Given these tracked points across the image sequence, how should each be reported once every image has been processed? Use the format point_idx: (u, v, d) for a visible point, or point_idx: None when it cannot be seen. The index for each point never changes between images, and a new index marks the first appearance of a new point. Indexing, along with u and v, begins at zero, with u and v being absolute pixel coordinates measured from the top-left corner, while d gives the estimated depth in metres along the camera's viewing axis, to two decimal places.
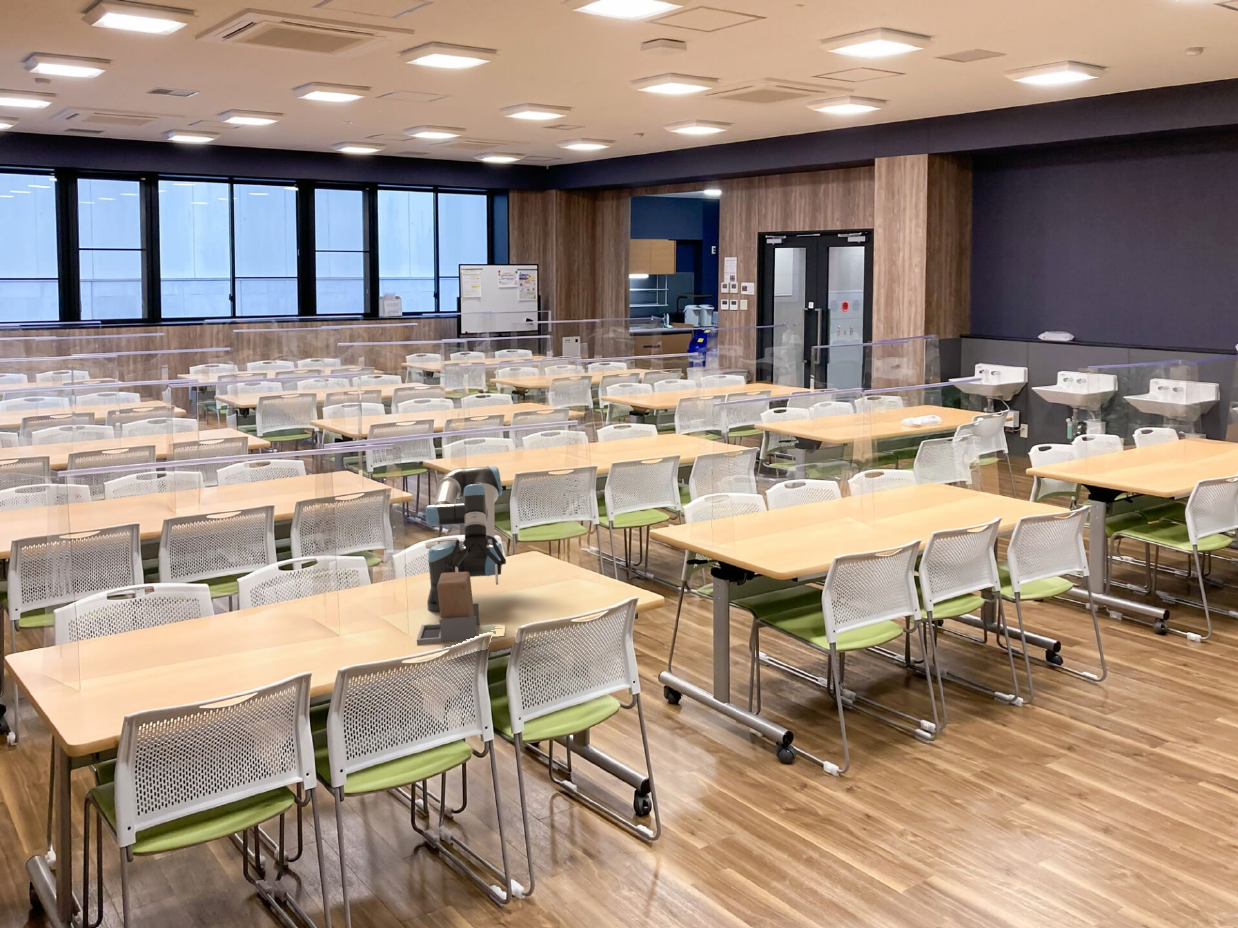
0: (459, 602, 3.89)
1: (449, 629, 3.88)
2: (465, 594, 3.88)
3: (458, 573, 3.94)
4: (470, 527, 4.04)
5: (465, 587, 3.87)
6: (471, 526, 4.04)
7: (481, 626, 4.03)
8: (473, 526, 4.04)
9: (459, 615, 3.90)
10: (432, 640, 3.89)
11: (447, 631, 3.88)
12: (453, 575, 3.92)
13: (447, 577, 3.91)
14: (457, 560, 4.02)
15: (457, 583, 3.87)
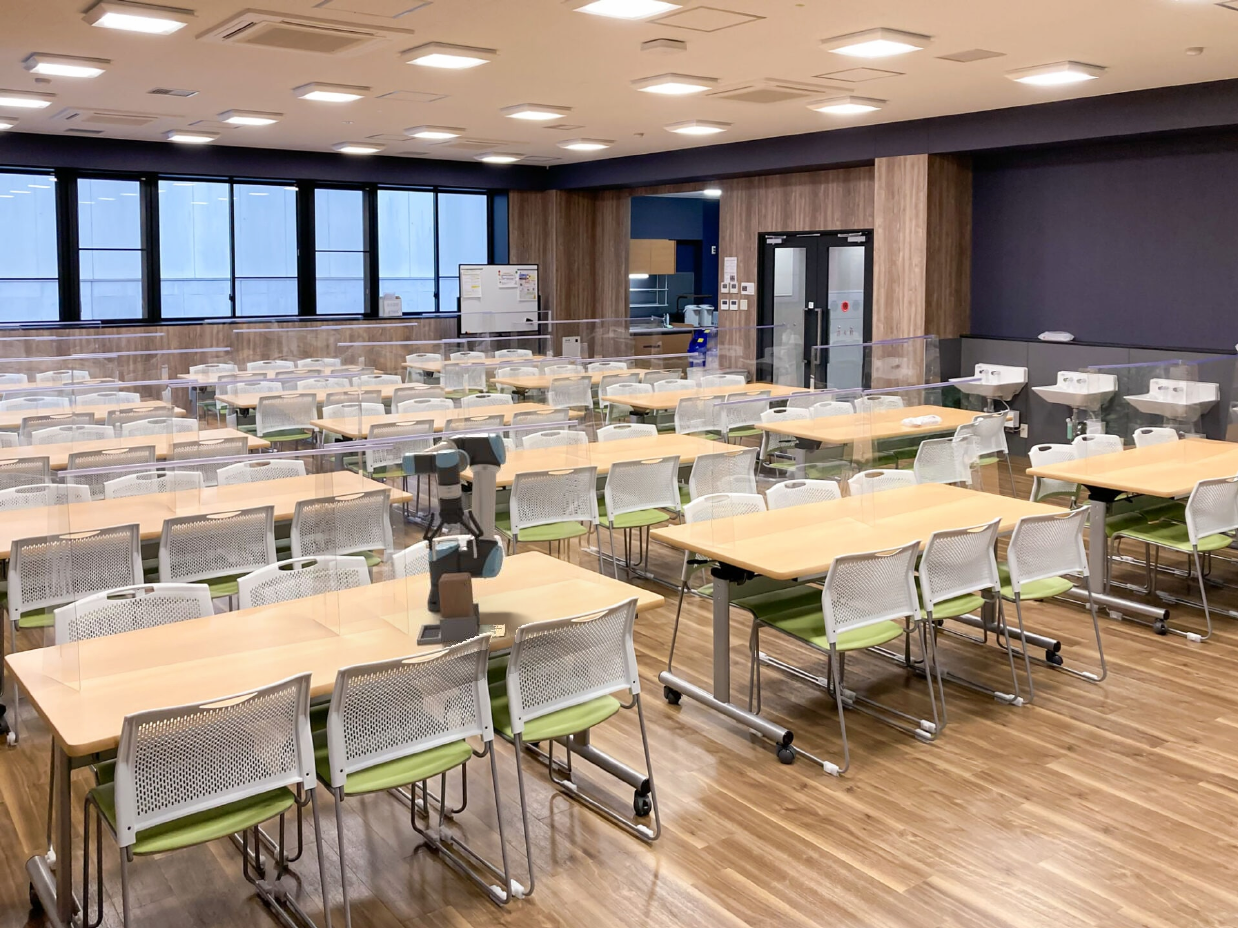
0: (460, 600, 3.91)
1: (449, 629, 3.88)
2: (466, 591, 3.90)
3: (459, 573, 3.97)
4: (445, 503, 3.85)
5: (466, 584, 3.90)
6: (446, 502, 3.85)
7: (481, 626, 4.03)
8: (448, 502, 3.85)
9: (460, 613, 3.92)
10: (432, 640, 3.89)
11: (447, 631, 3.88)
12: (455, 575, 3.96)
13: (448, 576, 3.94)
14: (433, 534, 3.89)
15: (458, 580, 3.90)
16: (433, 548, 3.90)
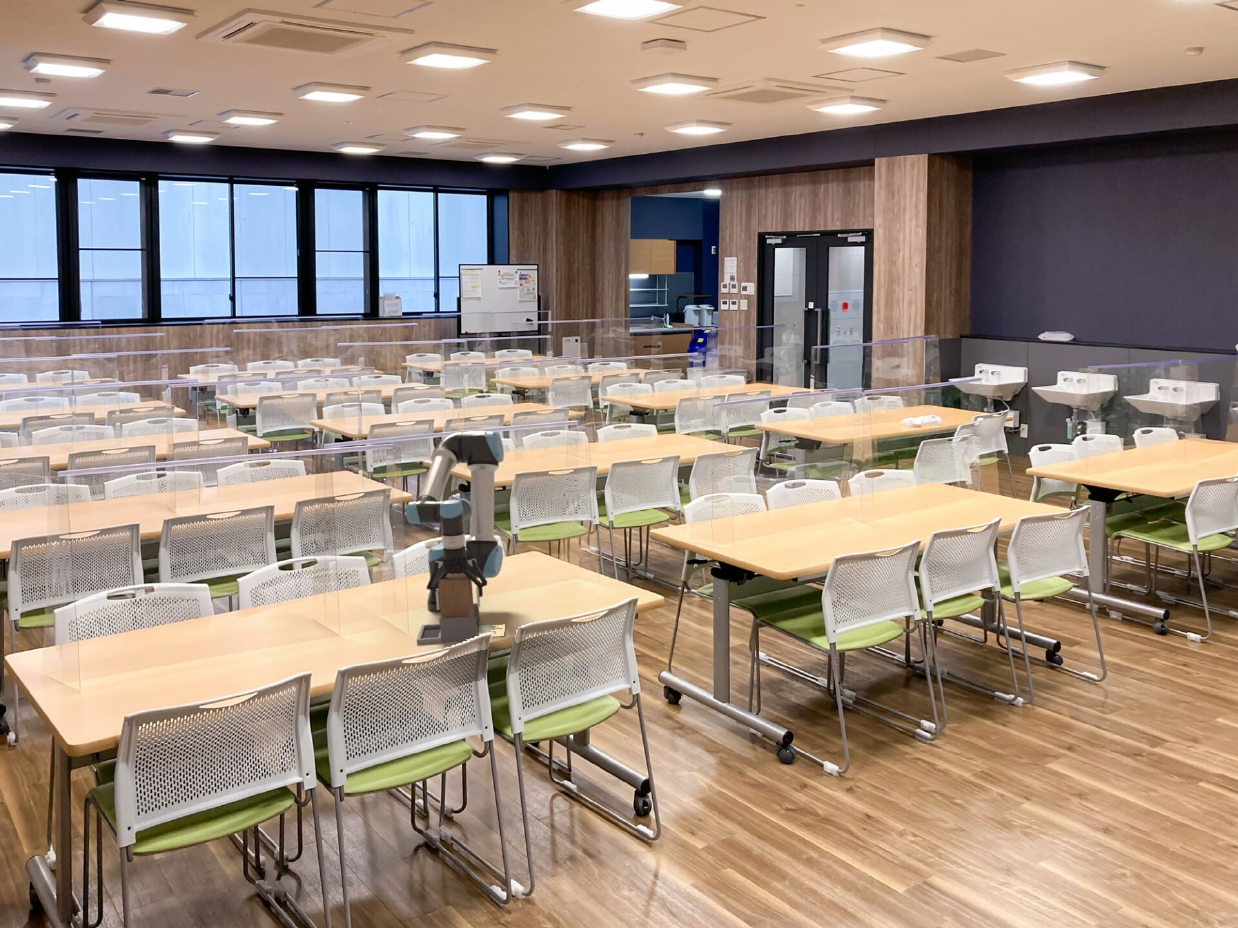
0: (460, 600, 3.91)
1: (449, 629, 3.88)
2: (466, 591, 3.90)
3: None
4: (449, 553, 3.88)
5: (466, 584, 3.90)
6: (450, 552, 3.88)
7: (481, 626, 4.03)
8: (452, 552, 3.88)
9: (460, 613, 3.92)
10: (432, 640, 3.89)
11: (447, 631, 3.88)
12: (455, 575, 3.96)
13: (448, 576, 3.94)
14: (437, 584, 3.92)
15: (458, 580, 3.90)
16: (437, 597, 3.93)
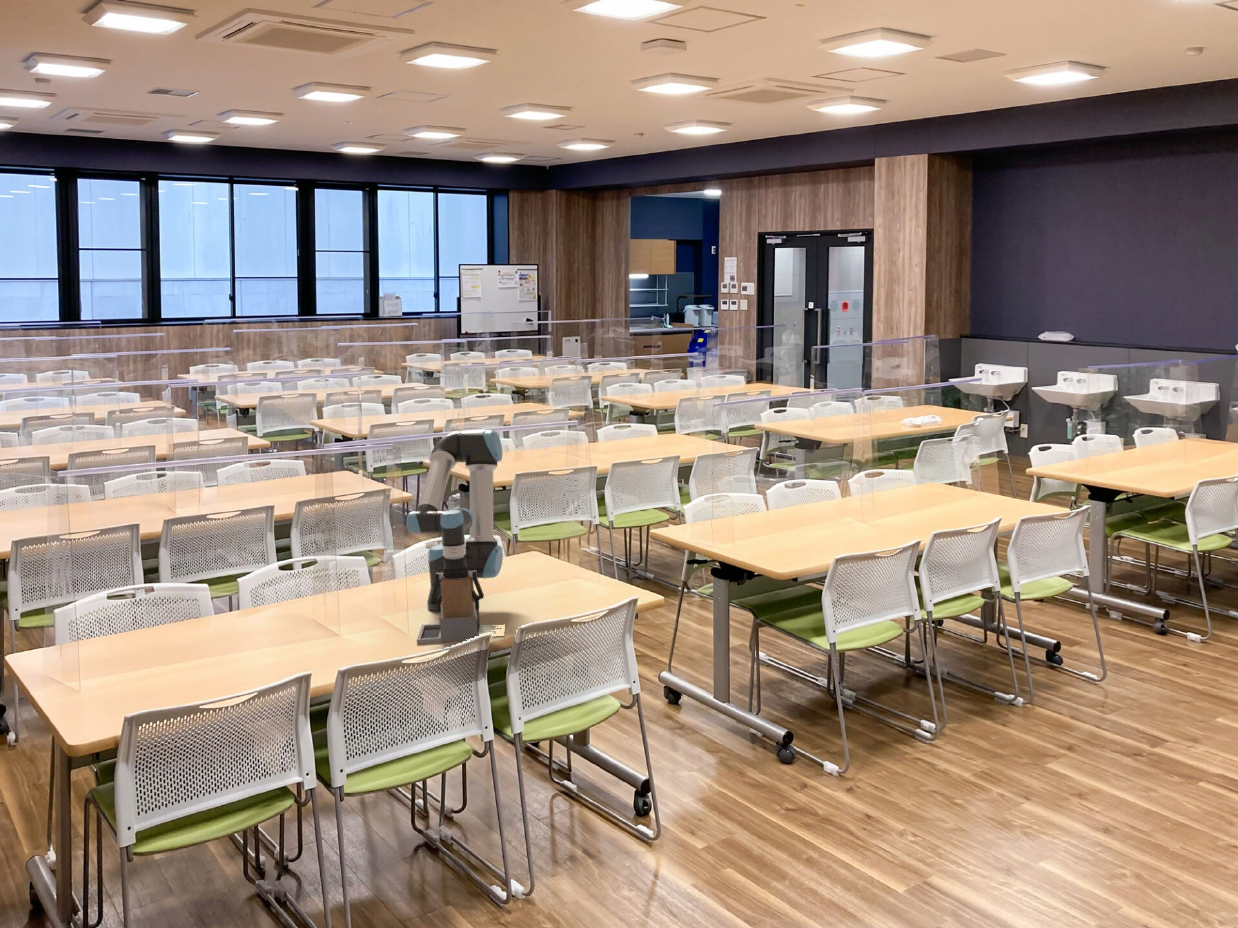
0: (462, 600, 3.91)
1: (449, 629, 3.88)
2: (468, 591, 3.90)
3: None
4: (450, 563, 3.89)
5: (468, 584, 3.90)
6: (450, 562, 3.89)
7: (481, 626, 4.03)
8: (452, 562, 3.89)
9: (462, 613, 3.92)
10: (432, 640, 3.89)
11: (447, 631, 3.88)
12: None
13: None
14: None
15: (460, 580, 3.90)
16: (442, 610, 3.94)
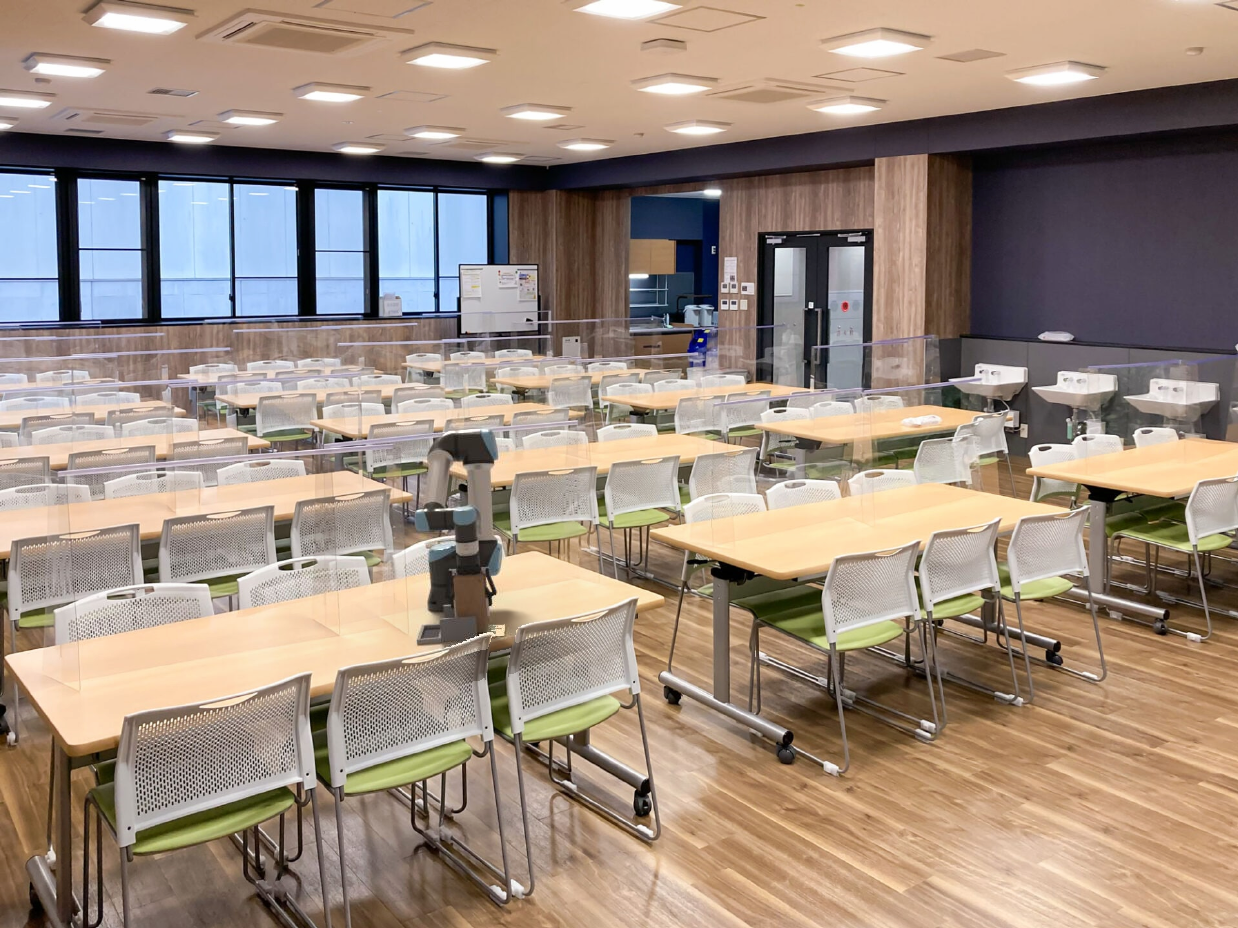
0: (475, 596, 3.91)
1: (449, 629, 3.88)
2: (481, 587, 3.90)
3: None
4: (463, 560, 3.89)
5: (481, 580, 3.90)
6: (463, 559, 3.89)
7: None
8: (465, 559, 3.89)
9: (475, 610, 3.92)
10: (432, 640, 3.89)
11: (447, 631, 3.88)
12: None
13: None
14: None
15: (473, 576, 3.90)
16: (455, 606, 3.94)
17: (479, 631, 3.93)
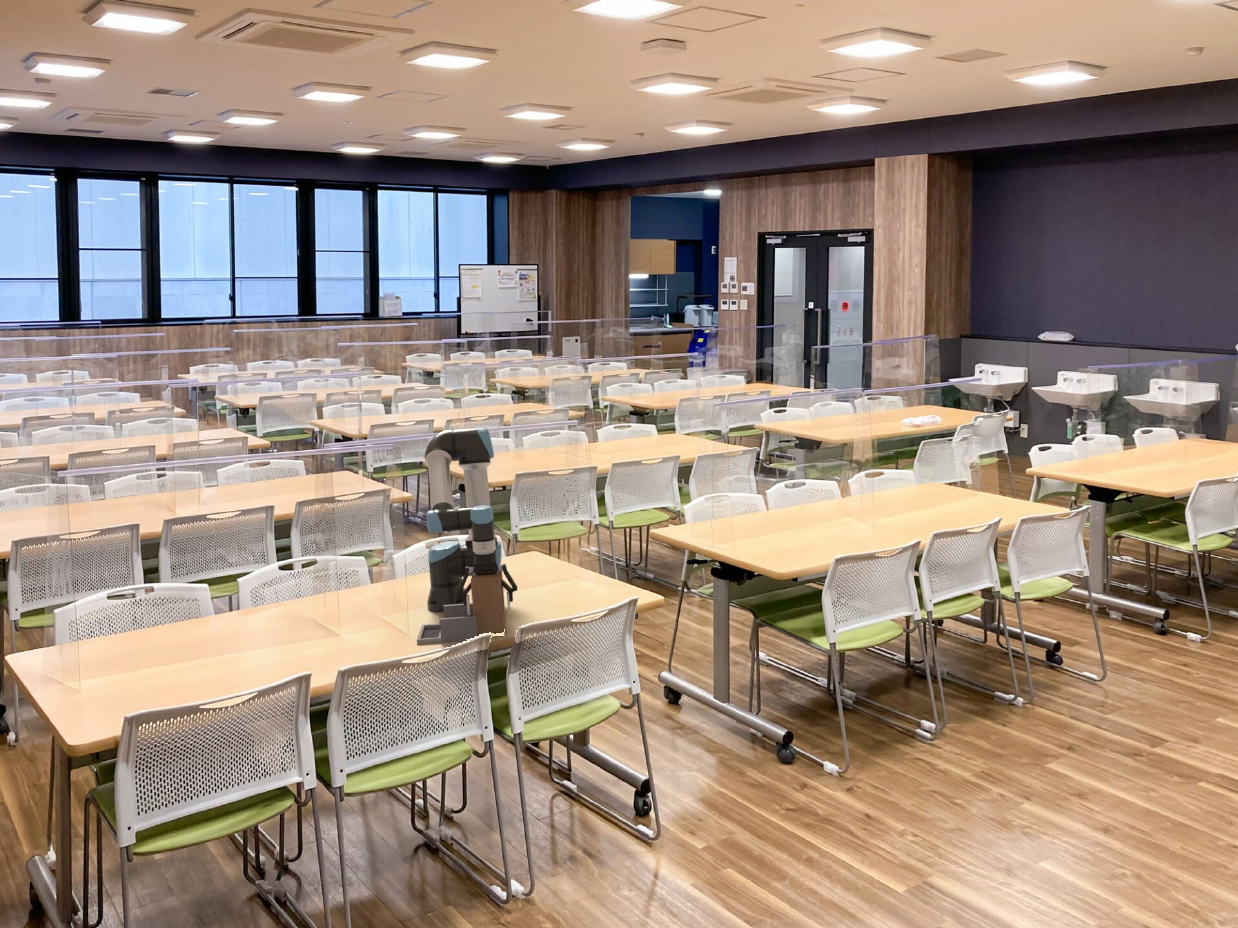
0: (493, 597, 3.91)
1: (449, 629, 3.88)
2: (498, 588, 3.91)
3: None
4: (480, 559, 3.89)
5: (498, 580, 3.91)
6: (481, 557, 3.89)
7: None
8: (482, 558, 3.89)
9: (492, 610, 3.92)
10: (432, 640, 3.89)
11: (447, 631, 3.88)
12: None
13: None
14: (468, 589, 3.93)
15: (490, 577, 3.91)
16: (467, 603, 3.94)
17: (496, 631, 3.94)
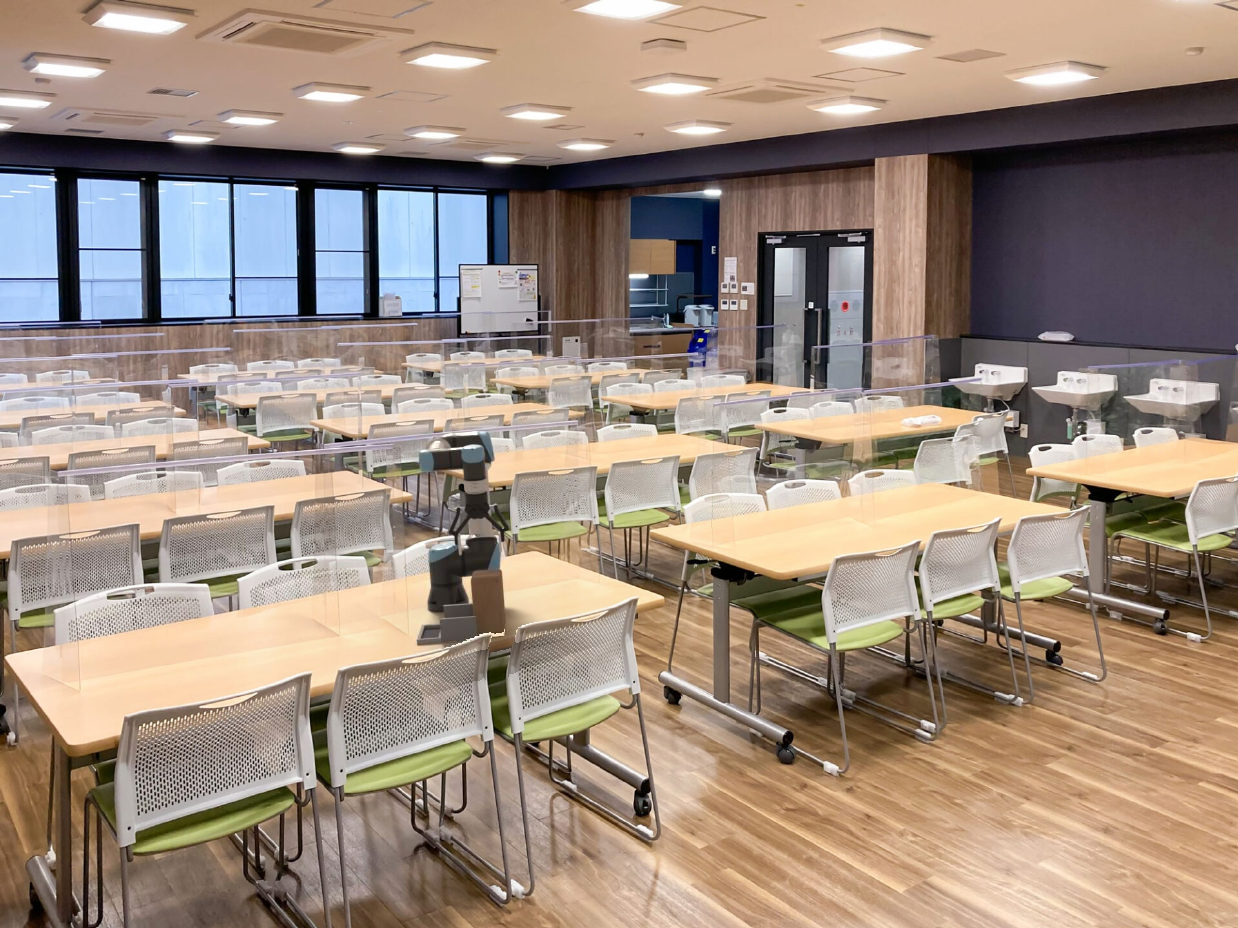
0: (493, 597, 3.91)
1: (449, 629, 3.88)
2: (498, 588, 3.91)
3: (491, 570, 3.98)
4: (472, 498, 3.88)
5: (498, 580, 3.91)
6: (472, 497, 3.88)
7: None
8: (474, 497, 3.87)
9: (492, 610, 3.92)
10: (432, 640, 3.89)
11: (447, 631, 3.88)
12: (486, 571, 3.96)
13: (480, 573, 3.95)
14: (459, 529, 3.92)
15: (490, 577, 3.91)
16: (459, 543, 3.93)
17: (496, 631, 3.94)
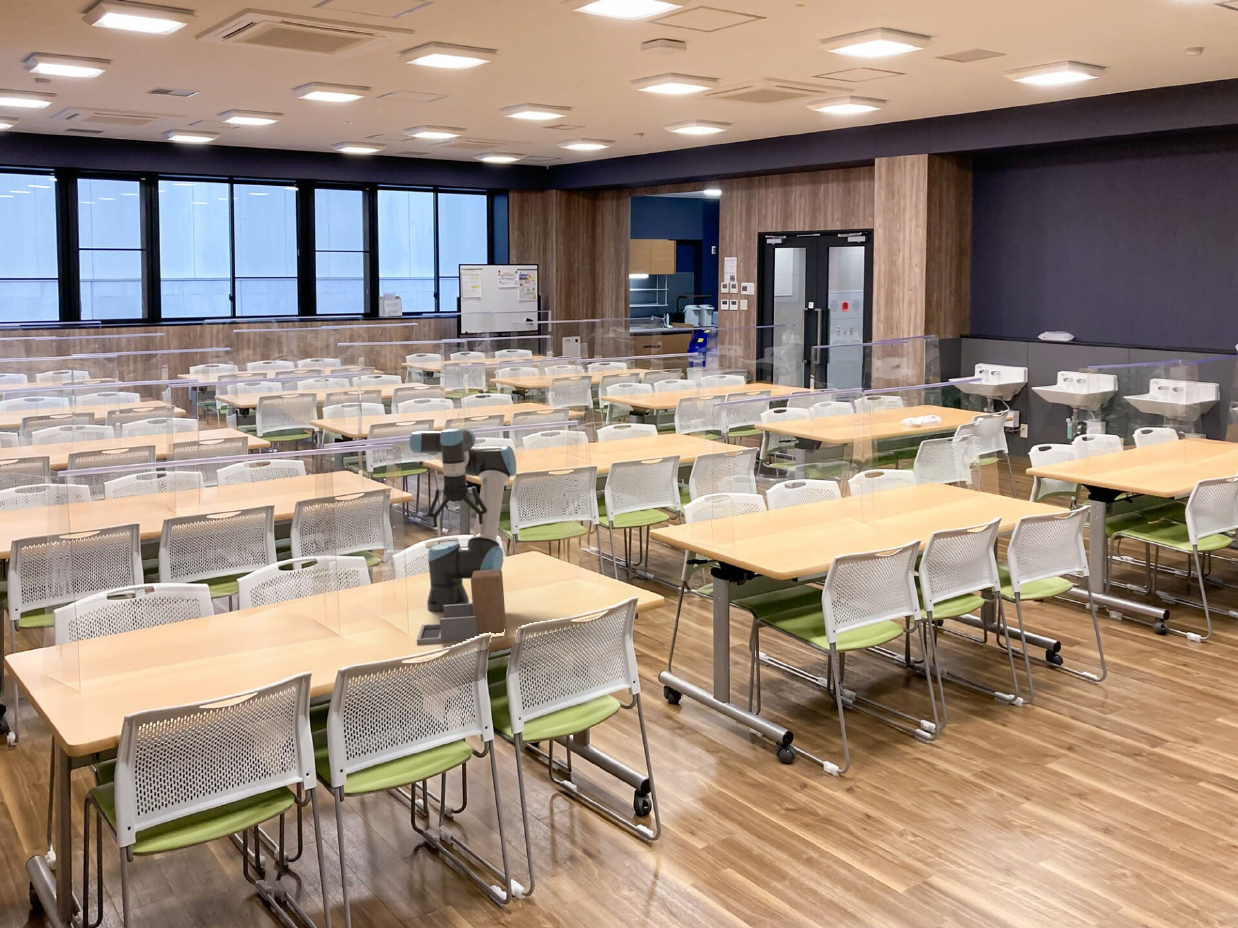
0: (493, 597, 3.91)
1: (449, 629, 3.88)
2: (498, 588, 3.91)
3: (491, 570, 3.98)
4: (450, 481, 3.96)
5: (499, 580, 3.91)
6: (450, 479, 3.96)
7: None
8: (452, 479, 3.95)
9: (492, 610, 3.92)
10: (432, 640, 3.89)
11: (447, 631, 3.88)
12: (486, 571, 3.96)
13: (480, 573, 3.95)
14: (438, 511, 4.00)
15: (490, 577, 3.91)
16: (438, 525, 4.00)
17: (496, 631, 3.94)
